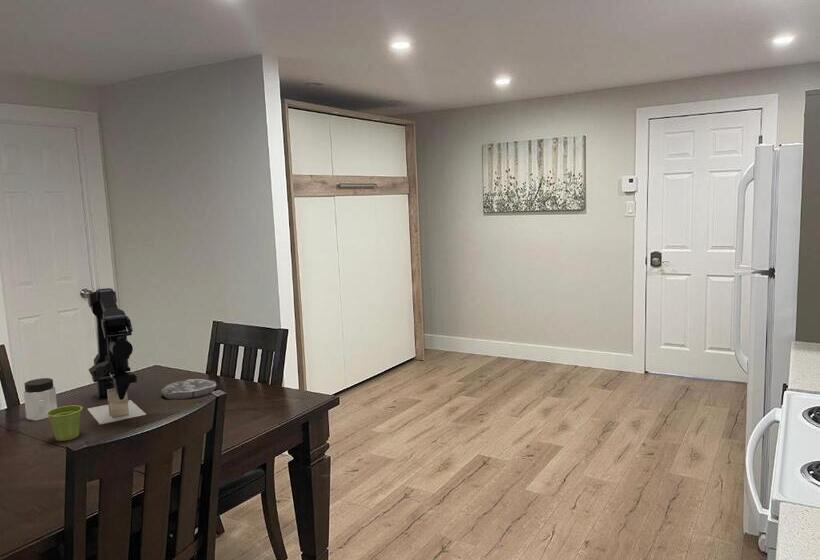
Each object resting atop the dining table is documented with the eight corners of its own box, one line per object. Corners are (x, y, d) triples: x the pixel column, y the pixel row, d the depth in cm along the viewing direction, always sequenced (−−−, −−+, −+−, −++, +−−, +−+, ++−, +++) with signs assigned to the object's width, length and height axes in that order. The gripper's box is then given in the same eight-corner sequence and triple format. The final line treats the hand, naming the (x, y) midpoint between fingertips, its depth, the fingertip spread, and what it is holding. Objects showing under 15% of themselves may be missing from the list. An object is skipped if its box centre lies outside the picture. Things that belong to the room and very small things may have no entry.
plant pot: (60, 446, 177) (57, 417, 176) (42, 440, 182) (40, 412, 181) (91, 435, 185) (88, 408, 183) (74, 430, 190) (71, 403, 188)
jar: (26, 422, 197) (23, 386, 196) (26, 415, 204) (22, 381, 203) (58, 417, 202) (55, 381, 201) (56, 410, 209) (53, 376, 207)
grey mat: (87, 409, 209) (87, 408, 209) (130, 401, 217) (130, 400, 217) (100, 425, 193) (99, 424, 193) (146, 415, 202) (146, 414, 202)
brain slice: (209, 383, 238) (209, 376, 238) (220, 394, 224) (220, 386, 223) (156, 392, 228) (155, 384, 228) (164, 404, 214) (163, 396, 213)
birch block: (109, 414, 202) (107, 389, 201) (125, 410, 206) (123, 386, 204) (112, 418, 199) (110, 393, 198) (129, 414, 202) (127, 389, 201)
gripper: (83, 351, 198) (88, 397, 200) (96, 362, 183) (100, 412, 185) (120, 345, 204) (124, 390, 206) (135, 356, 190) (139, 404, 192)
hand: (121, 399), depth 197 cm, fingers closed
